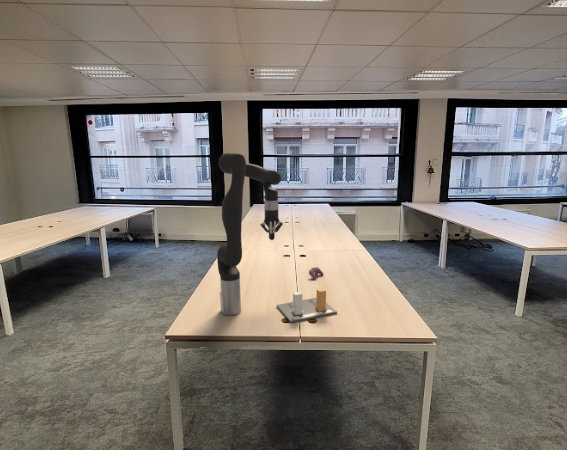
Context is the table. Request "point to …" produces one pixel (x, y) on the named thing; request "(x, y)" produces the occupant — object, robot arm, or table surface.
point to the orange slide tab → (321, 300)
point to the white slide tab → (297, 303)
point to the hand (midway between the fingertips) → (271, 239)
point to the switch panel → (305, 311)
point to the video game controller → (316, 270)
